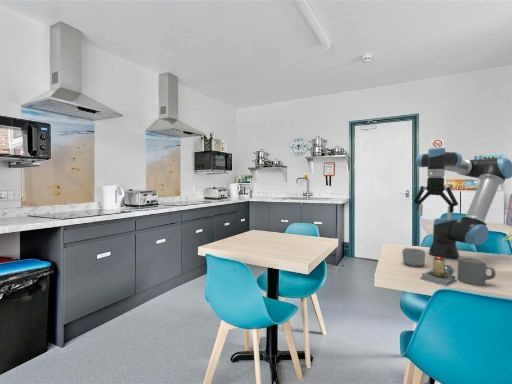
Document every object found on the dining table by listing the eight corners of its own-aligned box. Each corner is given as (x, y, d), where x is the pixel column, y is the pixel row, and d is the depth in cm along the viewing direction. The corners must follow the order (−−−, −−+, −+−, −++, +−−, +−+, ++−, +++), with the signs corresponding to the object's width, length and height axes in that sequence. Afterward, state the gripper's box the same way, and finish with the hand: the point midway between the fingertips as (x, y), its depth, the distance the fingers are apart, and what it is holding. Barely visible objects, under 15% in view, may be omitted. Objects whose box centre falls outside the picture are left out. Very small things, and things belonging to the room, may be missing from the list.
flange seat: (435, 272, 141) (436, 262, 141) (461, 278, 132) (462, 268, 132) (420, 278, 131) (420, 268, 131) (446, 286, 122) (447, 275, 122)
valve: (433, 275, 134) (434, 254, 133) (448, 279, 129) (449, 257, 128) (428, 278, 130) (429, 256, 130) (443, 282, 125) (444, 260, 125)
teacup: (428, 268, 146) (428, 253, 146) (405, 267, 148) (406, 252, 148) (418, 260, 160) (418, 247, 160) (397, 259, 162) (398, 245, 162)
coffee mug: (455, 281, 128) (456, 259, 128) (459, 276, 136) (460, 255, 135) (494, 289, 119) (495, 266, 119) (495, 283, 127) (496, 261, 126)
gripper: (407, 177, 155) (406, 215, 156) (461, 177, 135) (459, 221, 136) (413, 177, 159) (412, 214, 161) (466, 177, 140) (464, 219, 141)
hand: (434, 217), depth 148 cm, fingers open, 13 cm apart
